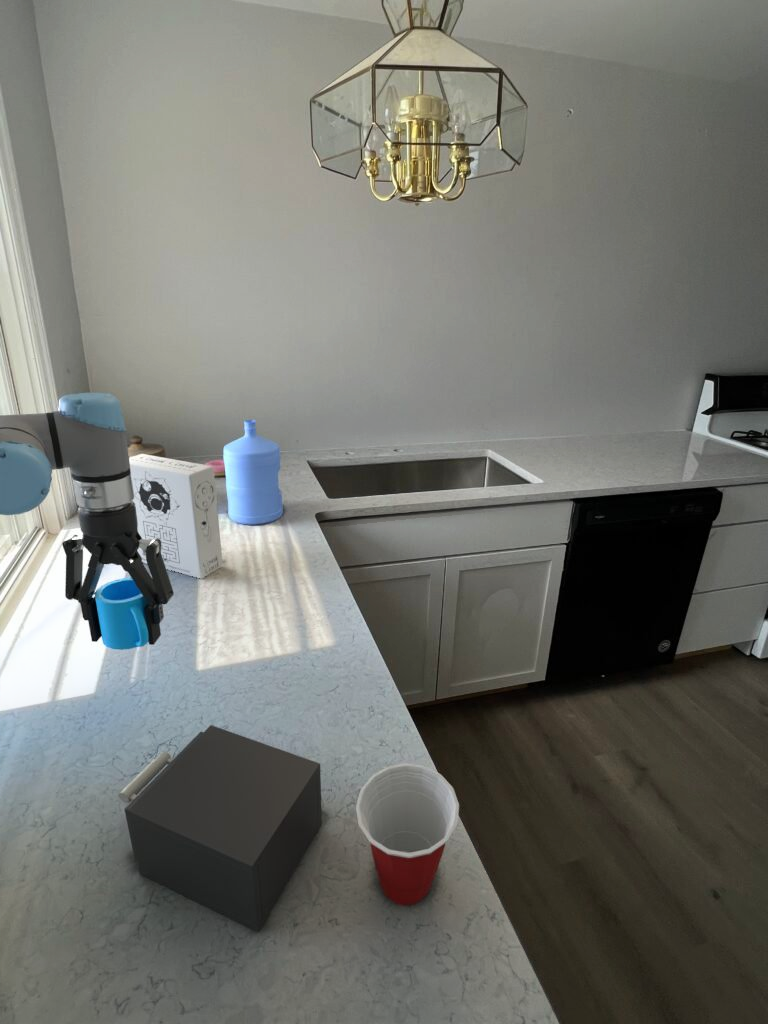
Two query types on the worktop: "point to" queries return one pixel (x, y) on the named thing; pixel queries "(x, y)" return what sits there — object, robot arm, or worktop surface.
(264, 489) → the water jug
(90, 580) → the robot arm
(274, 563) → the worktop surface
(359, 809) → the plastic cup
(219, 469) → the doughnut
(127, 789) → the drawer
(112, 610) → the mug
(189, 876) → the dark grey rectangular box
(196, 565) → the cereal box
